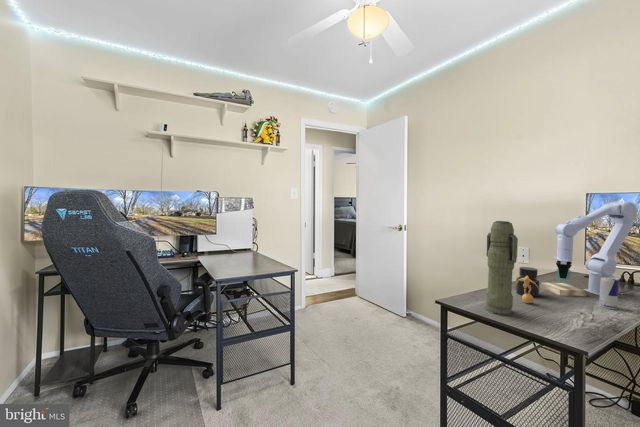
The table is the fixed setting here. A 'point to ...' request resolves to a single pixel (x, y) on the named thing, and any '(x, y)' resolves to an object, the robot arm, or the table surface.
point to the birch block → (563, 289)
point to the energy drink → (609, 292)
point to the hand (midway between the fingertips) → (563, 277)
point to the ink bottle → (532, 276)
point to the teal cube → (562, 278)
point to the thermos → (500, 267)
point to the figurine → (526, 297)
